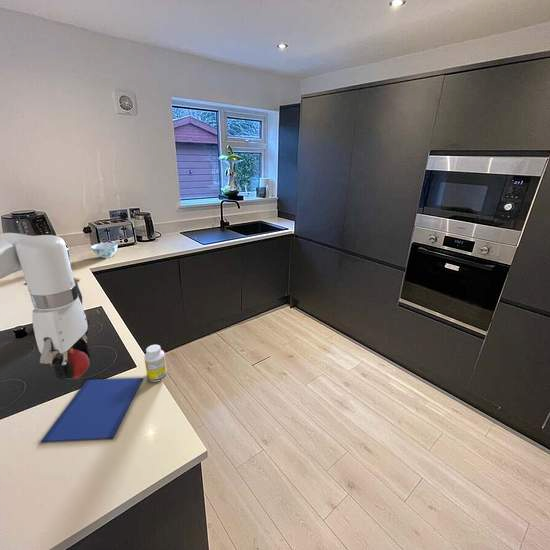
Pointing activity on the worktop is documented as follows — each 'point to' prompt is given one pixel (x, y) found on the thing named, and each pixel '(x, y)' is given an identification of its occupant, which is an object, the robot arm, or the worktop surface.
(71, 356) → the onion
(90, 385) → the cloth
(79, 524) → the worktop surface
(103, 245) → the chinaware
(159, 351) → the supplement bottle
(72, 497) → the worktop surface
